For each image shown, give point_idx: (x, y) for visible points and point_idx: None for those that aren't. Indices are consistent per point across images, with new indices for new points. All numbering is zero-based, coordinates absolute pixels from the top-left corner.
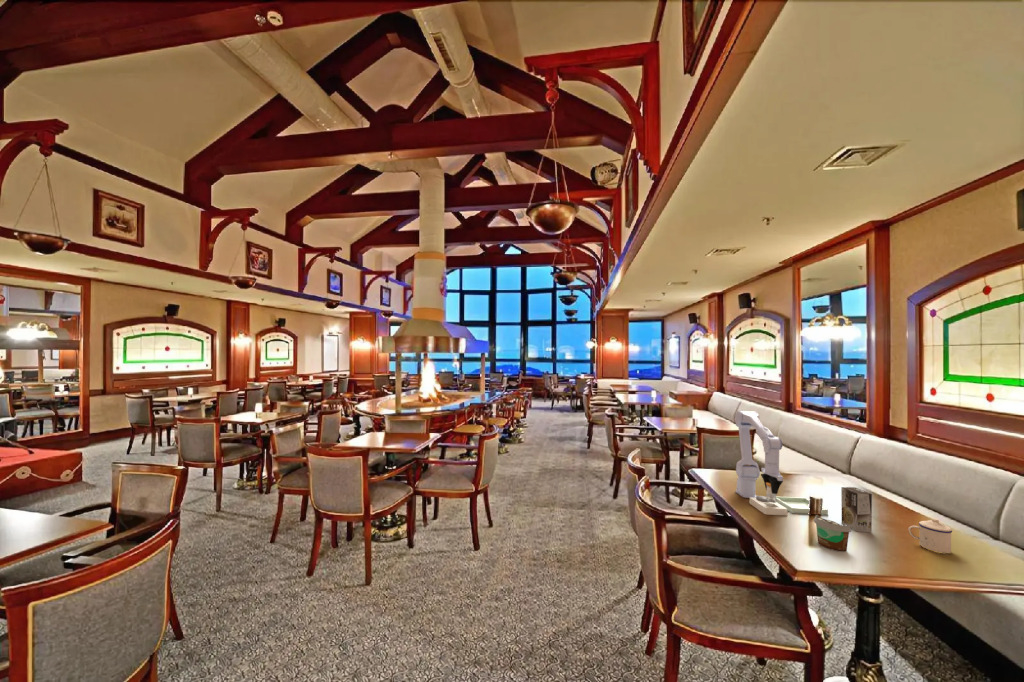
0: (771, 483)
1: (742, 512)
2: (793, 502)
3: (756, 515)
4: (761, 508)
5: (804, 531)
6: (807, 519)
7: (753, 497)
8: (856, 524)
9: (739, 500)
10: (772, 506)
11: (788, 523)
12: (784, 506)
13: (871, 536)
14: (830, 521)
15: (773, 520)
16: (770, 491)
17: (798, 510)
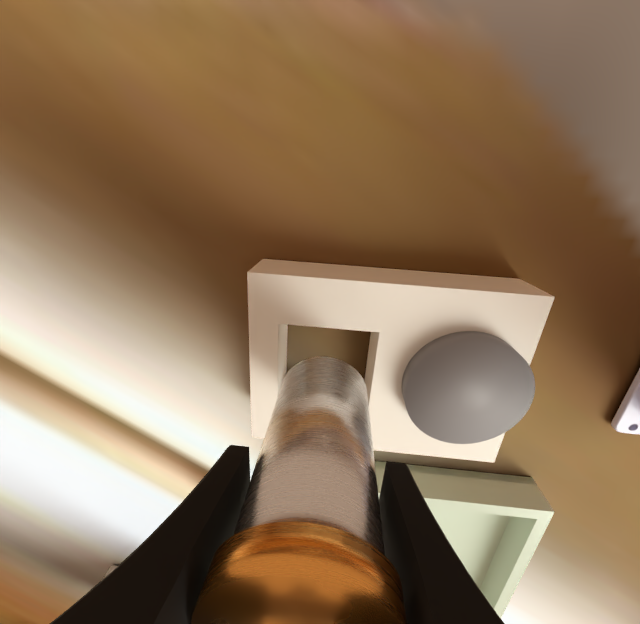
0: (93, 618)
1: (288, 45)
2: (471, 561)
3: (228, 162)
4: (316, 270)
5: (7, 340)
6: None
7: (631, 390)
8: None
9: (614, 225)
10: (367, 390)
11: (117, 324)
12: None
13: (75, 573)
14: None
15: (145, 249)
16: (267, 454)
17: None
